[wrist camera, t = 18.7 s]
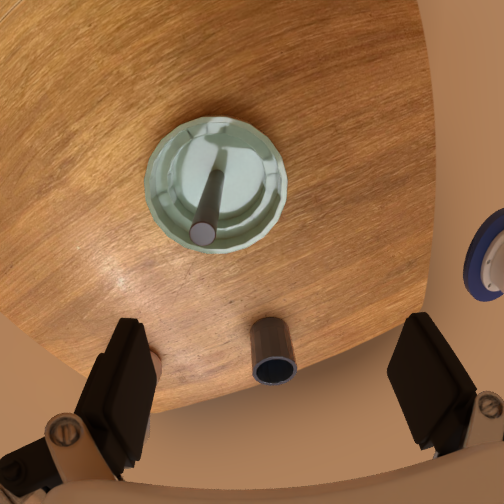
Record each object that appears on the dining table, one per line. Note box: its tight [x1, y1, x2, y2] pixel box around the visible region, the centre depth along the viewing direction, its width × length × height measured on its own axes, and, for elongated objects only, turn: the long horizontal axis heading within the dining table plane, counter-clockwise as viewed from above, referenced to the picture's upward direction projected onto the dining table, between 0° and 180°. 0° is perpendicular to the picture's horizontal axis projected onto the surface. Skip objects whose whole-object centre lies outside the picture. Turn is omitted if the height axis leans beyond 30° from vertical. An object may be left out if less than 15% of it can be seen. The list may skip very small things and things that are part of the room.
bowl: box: [144, 115, 288, 254], centre depth 33 cm, size 14×14×6 cm
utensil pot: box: [250, 317, 297, 385], centre depth 43 cm, size 6×6×8 cm
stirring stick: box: [189, 169, 225, 246], centre depth 28 cm, size 2×2×16 cm
